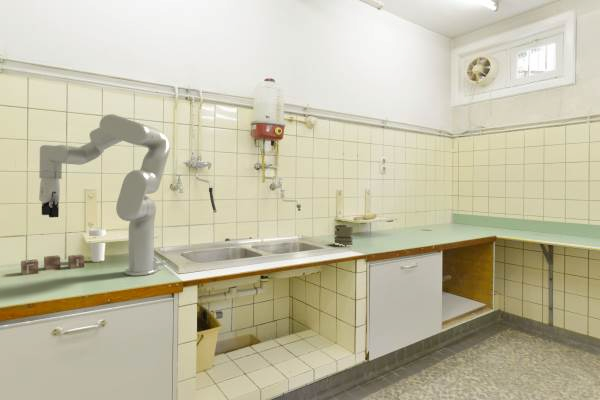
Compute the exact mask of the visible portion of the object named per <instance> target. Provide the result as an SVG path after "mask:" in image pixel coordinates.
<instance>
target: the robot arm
mask: <svg viewBox="0 0 600 400" xmlns="http://www.w3.org/2000/svg"><path fill="white" fill-rule="evenodd" d="M89 140H90V141H89V142H88V143H86V144H84V145H81V146H75V145H74V146H72V145H66V144H65V145H64V144H63V145H62V144H59V145H54V144H53V145H50V144H43V145H41V146H40V147H39V174H38V175H39V178H38V179H40V185H39V196H38V200H39V201H40V202H41V216H48V217H49V218H59V216H60V215H59V212H60V211H59V209H60V208H59V207H60V206H59V203H60V195H61V191H60V180H62V179H63V178H62V173H63V164H65V165H77V166H80V165H84V164H87V163H90V162H92V161H94V160H96V159H98V158H99V157H100V156H101V155H102V154H103V153H104V152H105V150H106V149H109V148H111V147H112V146H115V145H116V144H119V143H122V142H125V143H128V144H132V145H134V146H139V147H144V148H147V149H148V150H147V152H146V154H145V155H144V157H143V159H142V162H141V166H140V169H134V170H131V171H130V172H128V173H127V174H126V175H125V176H124V179H123V181H122V185H121V187H120V191H119V195H118V198H117V201H116V205H115V206H116V209H115V210H116V214H117V216H118V217H119V218H120V219H121V220H122V221H124V222H129V225H128V268H126V269H125V270H124V274H125V275H126V276H131V277H132V276H134V277H135V276H139V277H140V276H145V275H151V274H155V273H157V272H159V271H158V270H159V268H158V267H159V266H165V265H166V264H167V262H166V260H156V259H155V253H154V252H155V240H154V239H155V237H154V236H155V220H156V219H155V218H156V213H157V209H156V208H157V207H156V206H157V205H156V203H155V201H154V200H153V199H152V198H151V197H148V196H146V195H149V194H153V193H156V192H157V191H158V189H159V188H160V185H161V183H162V178H163V174H164V172H165V168H166V164H167V160H168V157H169V154H170V149H171V148H170V142H169V139H168V137H167V136H166V135H165V134H164V133H163V132H162V130H161V131H160V130H159V129H157V128H155V127H153V126H149V125H147V124H144V123H140V122H137V121H134V120H132V119H128V118H126V117H123V116H121V115H117V114H113V113H111V114H110V113H109V114H106V115H104V116H103V117H102V118H101V119H100V121H99V127H97V128H95V129H93V130H91V131H90V133H89Z"/></svg>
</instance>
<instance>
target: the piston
mask: <svg viewBox="0 0 600 400" xmlns="http://www.w3.org/2000/svg"><path fill="white" fill-rule="evenodd" d="M353 229H354V228H353V225H351V226H347V225H346V224H335V225H334V237H333V238H334V241H333V242H335V243H339V244H343V245H352V246H353V235H354V234H353V233H354V232H353V231H354V230H353Z"/></svg>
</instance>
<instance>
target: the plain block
mask: <svg viewBox="0 0 600 400" xmlns="http://www.w3.org/2000/svg"><path fill="white" fill-rule="evenodd" d="M43 267H44V268H43V269H44V270H45V271H51V270H57V269H58V270H59V269H61V256H60V255H47V256H44V257H43Z"/></svg>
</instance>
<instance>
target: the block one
mask: <svg viewBox="0 0 600 400" xmlns="http://www.w3.org/2000/svg"><path fill="white" fill-rule="evenodd" d="M67 261H68V262H67V263H68V264H67V267H68V268H69V269H70V270H75V269H82V268H85V255H83V254H72V255H68V256H67Z"/></svg>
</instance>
